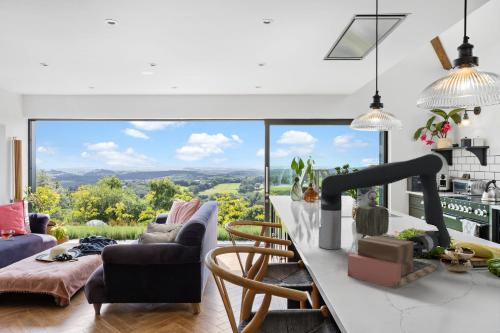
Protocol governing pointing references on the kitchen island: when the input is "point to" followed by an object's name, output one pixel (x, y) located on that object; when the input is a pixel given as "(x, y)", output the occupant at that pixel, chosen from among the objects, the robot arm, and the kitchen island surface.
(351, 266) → the roller track
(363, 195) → the juice carton
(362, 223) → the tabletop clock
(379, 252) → the brown cardboard box
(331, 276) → the kitchen island surface
